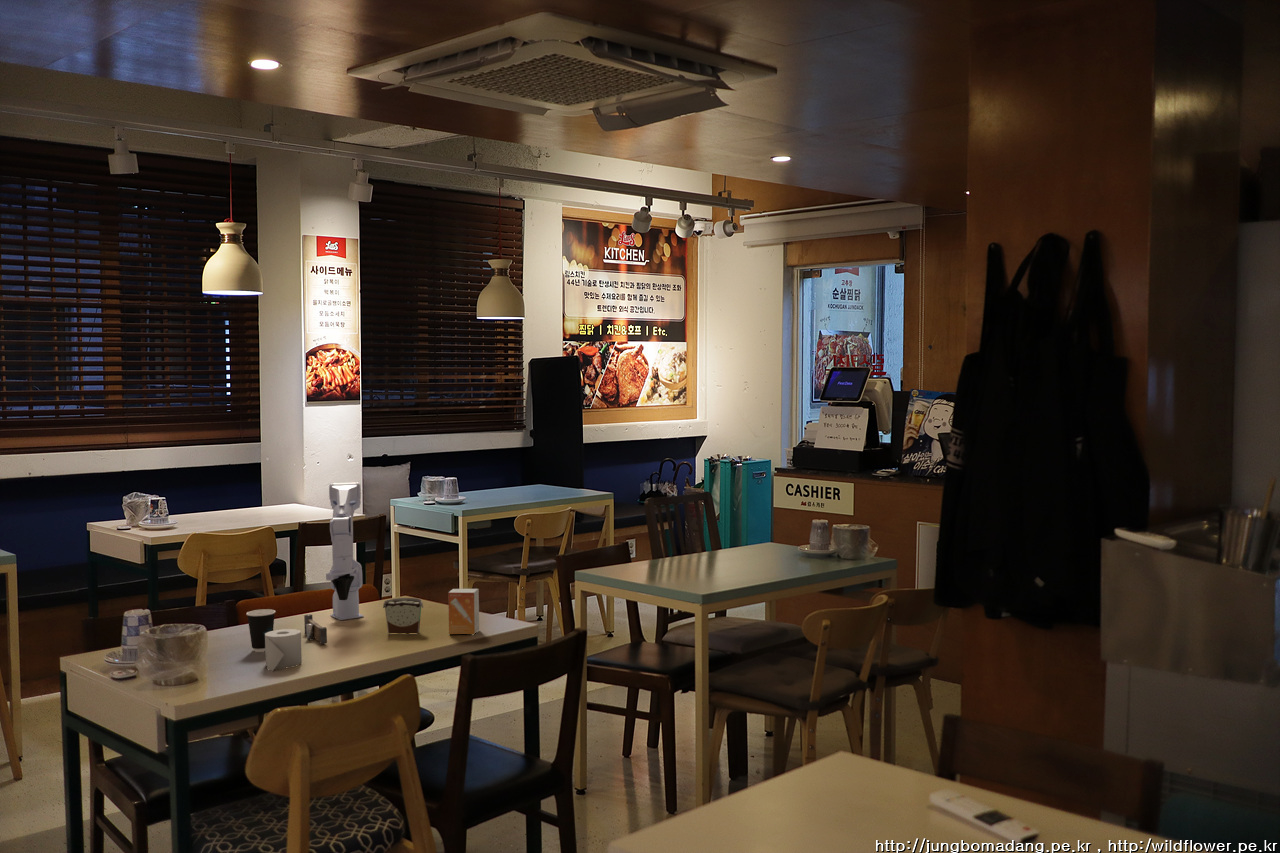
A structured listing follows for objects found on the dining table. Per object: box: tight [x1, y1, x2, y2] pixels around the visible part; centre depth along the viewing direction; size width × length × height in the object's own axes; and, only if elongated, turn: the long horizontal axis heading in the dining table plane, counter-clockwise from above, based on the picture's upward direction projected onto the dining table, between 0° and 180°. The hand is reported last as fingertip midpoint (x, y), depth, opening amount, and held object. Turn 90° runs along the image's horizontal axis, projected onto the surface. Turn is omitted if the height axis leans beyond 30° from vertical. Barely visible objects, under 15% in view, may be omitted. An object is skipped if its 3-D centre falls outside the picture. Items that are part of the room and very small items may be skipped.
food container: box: [382, 597, 424, 634], centre depth 332 cm, size 12×6×10 cm, turn 84°
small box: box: [447, 588, 480, 635], centre depth 329 cm, size 8×6×13 cm
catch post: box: [306, 624, 315, 641], centre depth 324 cm, size 2×2×4 cm
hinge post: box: [303, 613, 314, 635], centre depth 333 cm, size 2×2×6 cm
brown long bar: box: [308, 619, 328, 645], centre depth 324 cm, size 18×2×4 cm, turn 30°
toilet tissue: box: [264, 628, 303, 672], centre depth 293 cm, size 9×13×9 cm
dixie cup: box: [246, 608, 277, 653], centre depth 312 cm, size 8×8×11 cm
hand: (343, 599), depth 336 cm, fingers closed
